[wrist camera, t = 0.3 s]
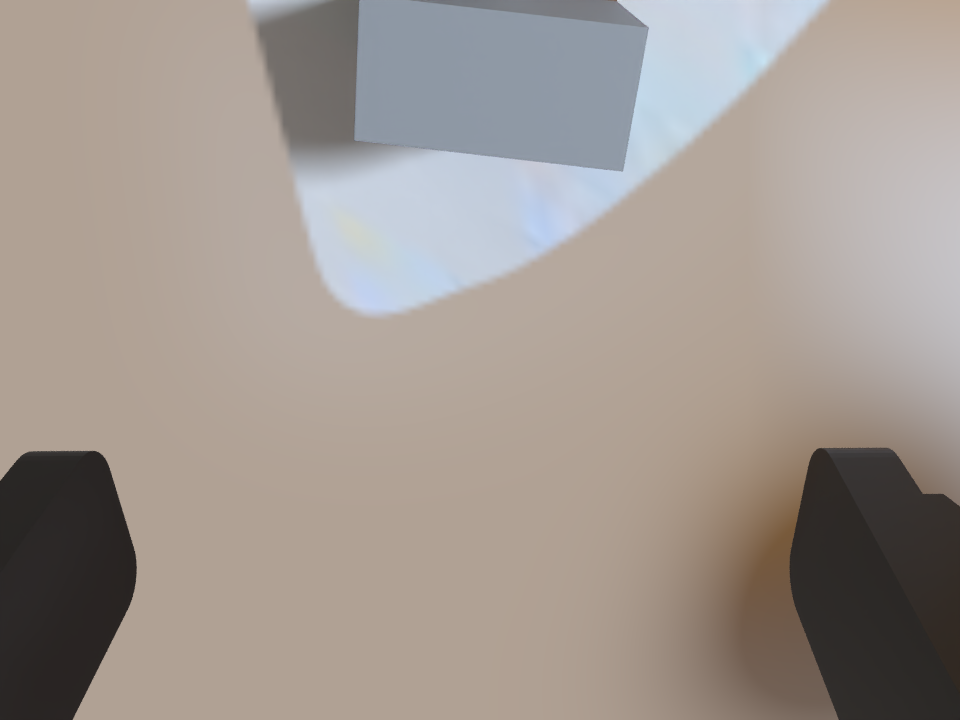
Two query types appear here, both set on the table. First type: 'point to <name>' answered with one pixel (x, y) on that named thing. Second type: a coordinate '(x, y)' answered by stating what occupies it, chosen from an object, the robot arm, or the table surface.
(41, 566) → the robot arm
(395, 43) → the end cabinet
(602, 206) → the table surface
